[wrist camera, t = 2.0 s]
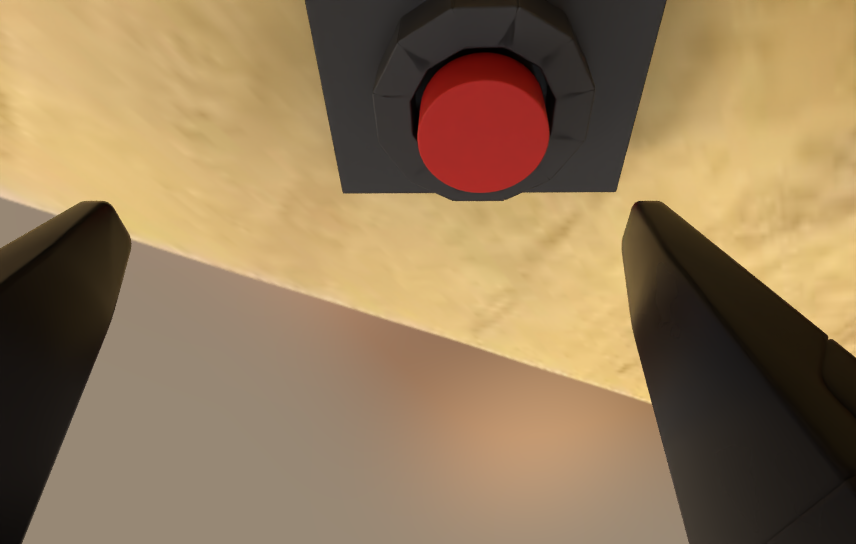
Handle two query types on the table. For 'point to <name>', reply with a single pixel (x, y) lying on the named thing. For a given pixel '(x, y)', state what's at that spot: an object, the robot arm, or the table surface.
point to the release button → (482, 123)
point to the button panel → (473, 33)
